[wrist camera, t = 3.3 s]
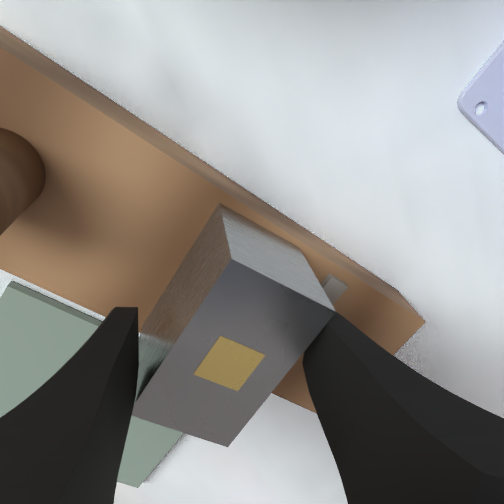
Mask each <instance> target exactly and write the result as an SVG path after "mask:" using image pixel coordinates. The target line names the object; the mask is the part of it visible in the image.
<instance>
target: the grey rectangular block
mask: <svg viewBox="0 0 504 504" xmlns="http://www.w3.org/2000/svg"><path fill="white" fill-rule="evenodd" d="M335 313H336V311H335V309H334V307H333V306H332V304H331V302H330V300H329V299H328V297H327V295H326V293H325V292H324V290H323V288H322V286H321V285H320V283H319V281H318V279H317V278H316V276H315V274H314V273H313V271H312V269H311V267H310V266H309V264H308V262H307V260H306V259H305V257H304V255H303V253H302V252H301V250H300V248H299V247H298V246H296V245H294V244H293V243H291V242H289V241H287V240H285V239H284V238H282V237H280V236H278V235H276V234H275V233H273V232H271V231H269V230H267V229H266V228H264V227H262V226H260V225H258V224H257V223H255V222H253V221H251V220H249V219H248V218H246V217H244V216H242V215H241V214H239V213H237V212H235V211H233V210H232V209H230V208H228V207H226V206H224V205H223V204H221V203H219V204H218V205H217V207H216V208H215V210H214V212H213V213H212V215H211V216H210V218H209V220H208V221H207V223H206V224H205V226H204V228H203V229H202V231H201V232H200V234H199V236H198V237H197V239H196V240H195V242H194V244H193V245H192V247H191V248H190V250H189V252H188V253H187V255H186V257H185V258H184V260H183V261H182V263H181V265H180V266H179V268H178V269H177V271H176V273H175V274H174V276H173V277H172V279H171V281H170V282H169V284H168V285H167V287H166V289H165V290H164V292H163V293H162V295H161V297H160V298H159V300H158V301H157V303H156V305H155V306H154V308H153V309H152V311H151V313H150V314H149V316H148V317H147V319H146V321H145V322H144V324H143V325H142V327H141V332H140V339H139V370H138V379H137V389H136V398H135V402H134V407H133V411H132V416H133V417H136V418H139V419H143V420H146V421H149V422H152V423H155V424H158V425H161V426H164V427H167V428H170V429H173V430H177V431H180V432H183V433H186V434H189V435H192V436H195V437H198V438H201V439H204V440H207V441H211V442H214V443H217V444H220V445H223V446H226V447H228V446H229V445H230V444H231V442H232V441H233V440H234V439H235V437H236V436H237V435H238V434H239V432H240V431H241V430H242V429H243V427H244V426H245V425H246V424H247V422H248V421H249V420H250V419H251V417H252V416H253V415H254V414H255V412H256V411H257V410H258V409H259V407H260V406H261V405H262V404H263V402H264V401H265V400H266V399H267V397H268V396H269V395H270V394H271V392H272V391H273V390H274V389H275V387H276V386H277V385H278V384H279V383H280V381H281V380H282V379H283V378H284V376H285V375H286V374H287V373H288V371H289V370H290V369H291V368H292V366H293V365H294V364H295V363H296V361H297V360H298V359H299V358H300V356H301V355H302V354H303V353H304V351H305V350H306V349H307V348H308V346H309V345H310V344H311V343H312V341H313V340H314V339H315V338H316V336H317V335H318V334H319V333H320V331H321V330H322V329H323V328H324V326H325V325H326V324H327V323H328V321H329V320H330V319H331V318H332V316H333V315H334V314H335Z"/></svg>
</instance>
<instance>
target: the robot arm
mask: <svg viewBox="0 0 504 504" xmlns="http://www.w3.org/2000/svg"><path fill="white" fill-rule="evenodd" d="M481 101H483V103H484V105H485V106H484V110H483V112H482V113H481V114H479V115H476V114H475V107H476V105H477V104H478V103H479V102H481ZM457 105H458V108H459V110H460V112H461V113H463V114H464V115H465V116H466V117H467V118H468V119H469V120H470V121H471V122H472V123H473V124H474V125H475V126H476V127H477V128H478V129H479V130H480V131H481V132H482V133H483V134H484V135H485V136H486V137H487V138H488V139H489V140H490V141H491V142H492V143H493V144H494V145H495V146H496V147H497V148H498V149H499V150H500V151H501V152H502V153H504V41H503V42H502V44H501V45H500V46H499V47H498V48H497V50H496V51H495V52H494V53H493V54H492V56H491V57H490V58H489V59H488V61H487V62H486V63H485V64H484V65H483V67H482V68H481V69H480V70H479V71H478V73H477V74H476V75H475V76H474V77H473V79H472V80H471V81H470V82H469V83H468V85H467V86H466V87H465V88H464V89H463V91H462V92H461V93H460V95H459V97H458V101H457ZM302 364H303V369H304V373H305V378H306V382H307V386H308V390H309V394H310V396H311V399H312V402H313V404H314V407H315V410H316V412H317V415H318V418H319V420H320V423H321V425H322V428H323V430H324V433H325V436H326V438H327V441H328V443H329V446H330V448H331V451H332V454H333V456H334V459H335V461H336V464H337V467H338V470H339V473H340V476H341V479H342V483H343V487H344V490H345V494H346V497H347V501H348V504H504V418H501V417H499V416H497V415H495V414H493V413H491V412H488V411H486V410H484V409H482V408H480V407H478V406H476V405H474V404H472V403H470V402H468V401H466V400H464V399H462V398H460V397H458V396H457V395H455V394H453V393H451V392H449V391H447V390H446V389H444V388H442V387H441V386H439V385H437V384H436V383H434V382H432V381H431V380H429V379H427V378H425V377H424V376H422V375H421V374H419V373H418V372H416V371H414V370H413V369H411V368H410V367H409V366H407V365H406V364H404V363H403V362H401V361H400V360H399V359H397V358H396V357H394V356H393V355H392V354H390V353H389V352H387V351H386V350H385V349H383V348H382V347H381V346H380V345H378V344H377V343H376V342H374V341H373V340H372V339H371V338H369V337H368V336H367V335H365V334H364V333H363V332H362V331H361V330H359V329H358V328H357V327H356V326H354V325H353V324H352V323H351V322H349V321H348V320H347V319H346V318H344V317H343V316H342V315H340V314H339V313H338V312H336V313H335V314H334V315H333V316H332V318H331V319H330V320H329V321H328V323H327V324H326V325H325V326H324V328H323V329H322V330H321V331H320V333H319V334H318V335H317V336H316V338H315V339H314V340H313V341H312V343H311V344H310V345H309V346H308V348H307V349H306V350H305V351H304V356H303V361H302ZM138 370H139V334H138V307H115V308H113V309H112V310H111V311H110V313H109V314H108V315H107V317H106V318H105V319H104V321H103V322H102V323H101V324H100V326H99V327H98V328H97V329H96V330H95V332H94V333H93V334H92V335H91V336H90V338H89V339H88V340H87V341H86V342H85V343H84V344H83V345H82V346H81V348H80V349H79V350H78V351H77V352H76V353H75V354H74V355H73V356H72V357H71V358H70V359H69V360H68V361H67V362H66V363H65V364H64V365H63V366H62V367H61V368H60V369H59V370H58V371H57V372H56V373H55V374H54V375H53V376H52V377H51V378H50V379H49V380H47V381H46V382H45V383H44V384H43V385H42V386H41V387H39V388H38V389H37V390H36V391H35V392H34V393H32V394H31V395H30V396H29V397H27V398H26V399H25V400H24V401H23V402H21V403H20V404H19V405H17V406H16V407H15V408H13V409H12V410H10V411H9V412H8V413H6V414H5V415H3V416H2V417H1V418H0V504H113V503H114V495H115V489H116V483H117V478H118V473H119V468H120V464H121V460H122V455H123V451H124V447H125V442H126V438H127V433H128V429H129V425H130V420H131V416H132V411H133V407H134V402H135V398H136V389H137V379H138Z"/></svg>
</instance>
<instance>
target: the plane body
mask: <svg viewBox="0 0 504 504" xmlns="http://www.w3.org/2000/svg"><path fill="white" fill-rule="evenodd" d="M219 203H221V204H223V205H224V206H226V207H228V208H230V209H232V210H233V211H235V212H237V213H239V214H241V215H242V216H244V217H246V218H248V219H249V220H251V221H253V222H255V223H257V224H258V225H260V226H262V227H264V228H266V229H267V230H269V231H271V232H273V233H275V234H276V235H278V236H280V237H282V238H284V239H285V240H287V241H289V242H291V243H293V244H294V245H296V246H298V247H299V248H300V250H301V252H302V253H303V255H304V257H305V259H306V260H307V262H308V264H309V266H310V267H311V269H312V271H313V273H314V274H315V276H316V278H317V279H318V281H319V283H320V285H321V286H322V288H323V290H324V292H325V293H326V295H327V297H328V299H329V300H330V302H331V304H332V306H333V307H334V309H335V311H336V312H338V313H339V314H340V315H342V316H343V317H344V318H346V319H347V320H348V321H349V322H351V323H352V324H353V325H354V326H356V327H357V328H358V329H359V330H361V331H362V332H363V333H364V334H365V335H367V336H368V337H369V338H371V339H372V340H373V341H374V342H376V343H377V344H378V345H380V346H381V347H382V348H383V349H385V350H386V351H387V352H389V353H390V354H392V355H394V354H395V353H396V352H397V351H398V350H399V349H400V348H401V347H402V346H403V345H404V344H405V342H406V341H407V340H408V339H409V338H410V337H411V336H412V335H413V334H414V333H415V332H416V331H417V330H418V329H419V328H420V327H421V326H422V325H423V324H424V323H425V321H424V320H423V319H422V317H421V316H420V315H419V314H418V313H417V312H416V311H415V310H414V308H413V307H412V306H411V305H410V304H409V303H408V302H407V301H406V299H405V298H404V297H403V296H402V295H401V294H400V293H399V291H398V290H396V289H395V288H393V287H392V286H390V285H389V284H387V283H386V282H384V281H383V280H381V279H380V278H378V277H377V276H375V275H374V274H372V273H371V272H369V271H368V270H366V269H365V268H363V267H362V266H360V265H359V264H357V263H356V262H354V261H353V260H351V259H350V258H348V257H347V256H345V255H344V254H342V253H341V252H339V251H338V250H336V249H335V248H333V247H332V246H330V245H329V244H327V243H326V242H324V241H323V240H321V239H320V238H318V237H317V236H315V235H314V234H312V233H311V232H309V231H308V230H306V229H305V228H303V227H302V226H300V225H299V224H297V223H296V222H294V221H293V220H291V219H290V218H288V217H287V216H285V215H284V214H282V213H281V212H279V211H278V210H276V209H275V208H273V207H272V206H270V205H269V204H267V203H266V202H264V201H263V200H261V199H260V198H258V197H257V196H255V195H254V194H252V193H251V192H249V191H248V190H246V189H245V188H243V187H242V186H240V185H239V184H237V183H236V182H234V181H233V180H231V179H230V178H228V177H226V176H225V175H223V174H222V173H220V172H219V171H217V170H216V169H214V168H213V167H211V166H210V165H208V164H207V163H205V162H204V161H202V160H201V159H199V158H198V157H196V156H195V155H193V154H192V153H190V152H189V151H187V150H186V149H184V148H183V147H181V146H180V145H178V144H177V143H175V142H174V141H172V140H171V139H169V138H168V137H166V136H165V135H163V134H162V133H160V132H159V131H157V130H156V129H154V128H153V127H151V126H150V125H148V124H147V123H145V122H144V121H142V120H141V119H139V118H138V117H136V116H135V115H133V114H132V113H130V112H129V111H127V110H126V109H124V108H123V107H121V106H120V105H118V104H117V103H115V102H114V101H112V100H111V99H109V98H108V97H106V96H105V95H103V94H102V93H100V92H99V91H97V90H96V89H94V88H93V87H91V86H90V85H88V84H87V83H85V82H84V81H82V80H81V79H79V78H78V77H76V76H75V75H73V74H72V73H70V72H69V71H67V70H66V69H64V68H63V67H61V66H60V65H58V64H57V63H55V62H54V61H52V60H51V59H49V58H47V57H46V56H44V55H43V54H41V53H40V52H38V51H37V50H35V49H34V48H32V47H31V46H29V45H28V44H26V43H25V42H23V41H22V40H20V39H19V38H17V37H16V36H14V35H13V34H11V33H10V32H8V31H7V30H5V29H4V28H2V27H1V26H0V269H2V270H4V271H6V272H8V273H11V274H13V275H15V276H17V277H19V278H22V279H24V280H26V281H28V282H30V283H33V284H35V285H37V286H39V287H41V288H43V289H46V290H48V291H50V292H52V293H54V294H57V295H59V296H61V297H63V298H65V299H68V300H70V301H72V302H74V303H76V304H78V305H81V306H83V307H85V308H87V309H89V310H92V311H94V312H96V313H98V314H100V315H102V316H105V317H107V315H108V314H109V313H110V311H111V310H112V309H113V308H115V307H138V332H141V327H142V325H143V324H144V322H145V321H146V319H147V317H148V316H149V314H150V313H151V311H152V309H153V308H154V306H155V305H156V303H157V301H158V300H159V298H160V297H161V295H162V293H163V292H164V290H165V289H166V287H167V285H168V284H169V282H170V281H171V279H172V277H173V276H174V274H175V273H176V271H177V269H178V268H179V266H180V265H181V263H182V261H183V260H184V258H185V257H186V255H187V253H188V252H189V250H190V248H191V247H192V245H193V244H194V242H195V240H196V239H197V237H198V236H199V234H200V232H201V231H202V229H203V228H204V226H205V224H206V223H207V221H208V220H209V218H210V216H211V215H212V213H213V212H214V210H215V208H216V207H217V205H218V204H219ZM303 356H304V353H303V354H302V355H301V356H300V358H299V359H298V360H297V361H296V363H295V364H294V365H293V366H292V368H291V369H290V370H289V371H288V373H287V374H286V375H285V376H284V378H283V379H282V380H281V381H280V383H279V384H278V385H277V386H276V387H275V389H274V390H273V391H272V392H271V393H273V394H275V395H277V396H280V397H282V398H284V399H286V400H288V401H290V402H293V403H295V404H297V405H299V406H301V407H304V408H306V409H308V410H310V411H312V412H315V413H317V412H316V410H315V407H314V404H313V402H312V399H311V396H310V394H309V390H308V386H307V382H306V378H305V373H304V369H303V364H302V361H303Z"/></svg>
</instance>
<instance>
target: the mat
mask: <svg viewBox="0 0 504 504" xmlns="http://www.w3.org/2000/svg"><path fill="white" fill-rule="evenodd" d="M101 323H102V321H99V320H97V319H95V318H93V317H91V316H88V315H86V314H84V313H82V312H80V311H77V310H75V309H73V308H71V307H68V306H66V305H64V304H62V303H60V302H57V301H55V300H53V299H51V298H49V297H46V296H44V295H42V294H40V293H37V292H35V291H33V290H31V289H29V288H26V287H24V286H22V285H20V284H18V283H15V282H13V281H11V282H10V283H9V285H8V286H7V288H6V289H5V291H4V293H3V295H2V296H1V298H0V418H1V417H2V416H3V415H5V414H6V413H8V412H9V411H10V410H12V409H13V408H15V407H16V406H17V405H19V404H20V403H21V402H23V401H24V400H25V399H26V398H27V397H29V396H30V395H31V394H32V393H34V392H35V391H36V390H37V389H38V388H39V387H41V386H42V385H43V384H44V383H45V382H46V381H47V380H49V379H50V378H51V377H52V376H53V375H54V374H55V373H56V372H57V371H58V370H59V369H60V368H61V367H62V366H63V365H64V364H65V363H66V362H67V361H68V360H69V359H70V358H71V357H72V356H73V355H74V354H75V353H76V352H77V351H78V350H79V349H80V348H81V346H82V345H83V344H84V343H85V342H86V341H87V340H88V339H89V338H90V336H91V335H92V334H93V333H94V332H95V330H96V329H97V328H98V327H99V326H100V324H101ZM182 435H183V432H180V431H177V430H173V429H170V428H167V427H164V426H161V425H158V424H155V423H152V422H149V421H146V420H143V419H139V418H136V417H133V416H131V420H130V425H129V429H128V433H127V438H126V442H125V447H124V451H123V455H122V460H121V464H120V468H119V473H118V478H117V482H120V483H124V484H127V485H130V486H133V487H137V488H138V487H139V486H140V485H141V484H142V482H143V481H144V480H145V479H146V478H147V476H148V475H149V474H150V473H151V472H152V470H153V469H154V468H155V467H156V466H157V464H158V463H159V462H160V461H161V460H162V459H163V457H164V456H165V455H166V454H167V453H168V451H169V450H170V449H171V448H172V447H173V445H174V444H175V443H176V442H177V441H178V439H179V438H180V437H181V436H182Z"/></svg>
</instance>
